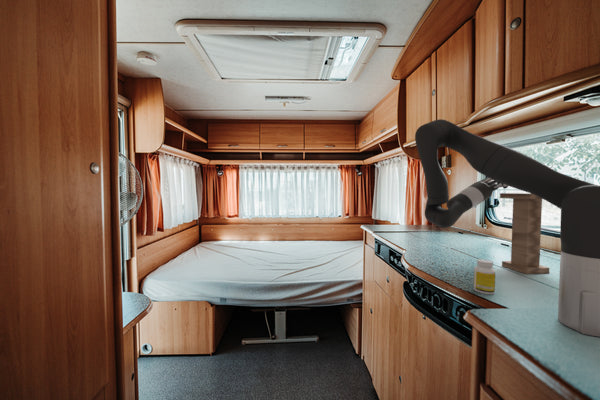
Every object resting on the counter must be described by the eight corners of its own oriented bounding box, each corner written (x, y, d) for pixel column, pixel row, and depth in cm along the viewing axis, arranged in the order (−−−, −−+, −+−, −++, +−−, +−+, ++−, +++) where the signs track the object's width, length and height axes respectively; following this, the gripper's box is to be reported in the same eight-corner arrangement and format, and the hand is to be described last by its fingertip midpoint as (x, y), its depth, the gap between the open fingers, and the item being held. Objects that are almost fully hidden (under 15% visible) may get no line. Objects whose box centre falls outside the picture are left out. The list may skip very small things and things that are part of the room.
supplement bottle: (498, 295, 73) (499, 264, 73) (478, 294, 75) (479, 262, 74) (488, 288, 79) (489, 259, 78) (470, 287, 80) (471, 258, 79)
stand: (527, 275, 91) (530, 193, 90) (497, 265, 103) (500, 193, 102) (554, 273, 93) (557, 193, 92) (522, 264, 105) (524, 193, 104)
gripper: (485, 186, 87) (522, 163, 88) (455, 187, 101) (488, 167, 102) (494, 204, 87) (531, 181, 89) (463, 202, 101) (495, 182, 103)
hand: (508, 173), depth 96 cm, fingers closed on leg, 3 cm apart
